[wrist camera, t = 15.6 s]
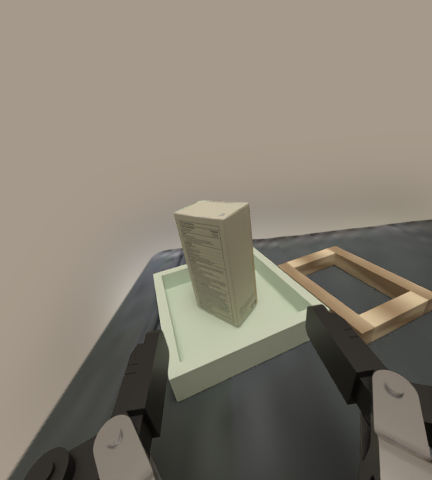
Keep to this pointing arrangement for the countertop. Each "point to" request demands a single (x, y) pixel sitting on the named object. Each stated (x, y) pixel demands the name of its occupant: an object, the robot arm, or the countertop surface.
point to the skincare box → (219, 257)
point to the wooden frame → (399, 289)
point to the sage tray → (228, 327)
